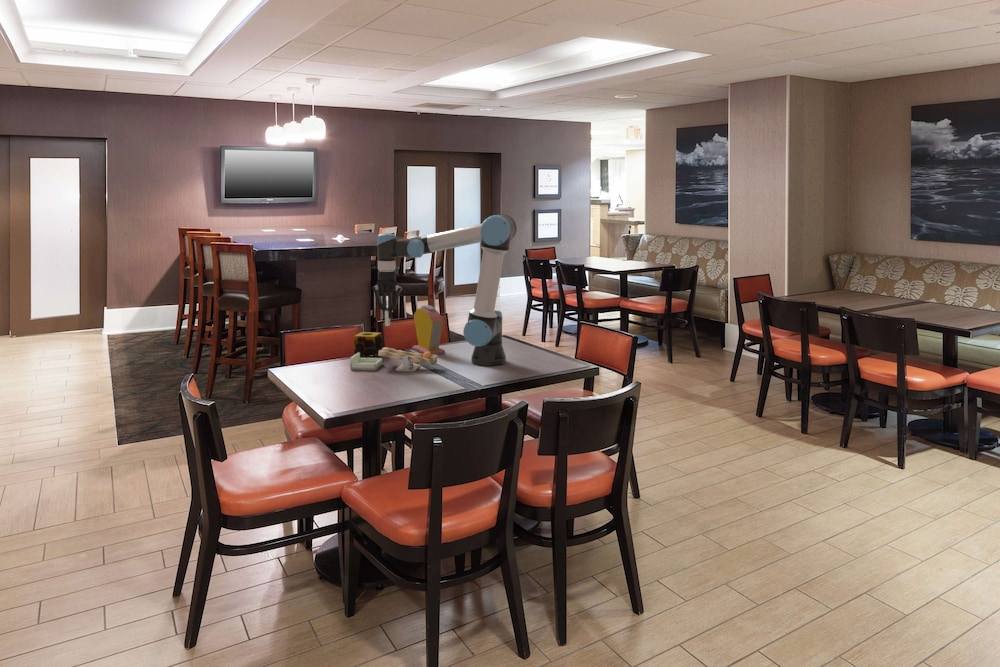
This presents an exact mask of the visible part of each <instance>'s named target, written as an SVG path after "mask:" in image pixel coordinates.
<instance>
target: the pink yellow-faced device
mask: <svg viewBox="0 0 1000 667" xmlns="http://www.w3.org/2000/svg"><path fill="white" fill-rule="evenodd" d="M413 321H414V324H415V325H414V326H415V332H416V333H415V334H416V340H417V343H418V344H417V345H416V344H415V345H412V346H411V348H412V350H414V351H416V352H418V353H419V354H424V353H425V352H430V353H431V355H433V354H435V355H438V356H439V355H444V354H445V353H446V351H445V349H443V348H440V342H441V335H442V330H443V325H444V319H443V318H442V315H441V314H440V312H439V311H438V310H437V309H436V308H435V307H434V306H433V305H422V306H420V307H419V308H417V309H416V310H415V312H414V314H413Z"/></svg>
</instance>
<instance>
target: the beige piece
mask: <svg viewBox="0 0 1000 667" xmlns="http://www.w3.org/2000/svg"><path fill="white" fill-rule="evenodd" d="M411 352H412V351H404V350H397V349H396V348H393V347H386V346H385V347H382V349H381V350H379V352H378V357H384V358H388V359H389V358H391V359H396V360H397V359H398V360H401V361H403V359H402V356H409V361H413V363H418V364H426V365H431V366H435V364H436V363H437V362H438V357H439V354H438V355H435V354H433V355H432V356H431V357H430V359H427V358H423V353H416V352H413V353H411Z"/></svg>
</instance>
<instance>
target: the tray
mask: <svg viewBox="0 0 1000 667" xmlns="http://www.w3.org/2000/svg"><path fill="white" fill-rule="evenodd" d="M383 361H384V359H383V358H382V357H376V358H360V353H357V354H353V355H352V356H350V357H349V364H350V365H349V366H350V368H349V369H350V371H351V370H353V371H354V370H355V371H377V370H378V369H379V368H381V367H382V366H383V365H384V362H383Z"/></svg>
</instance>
